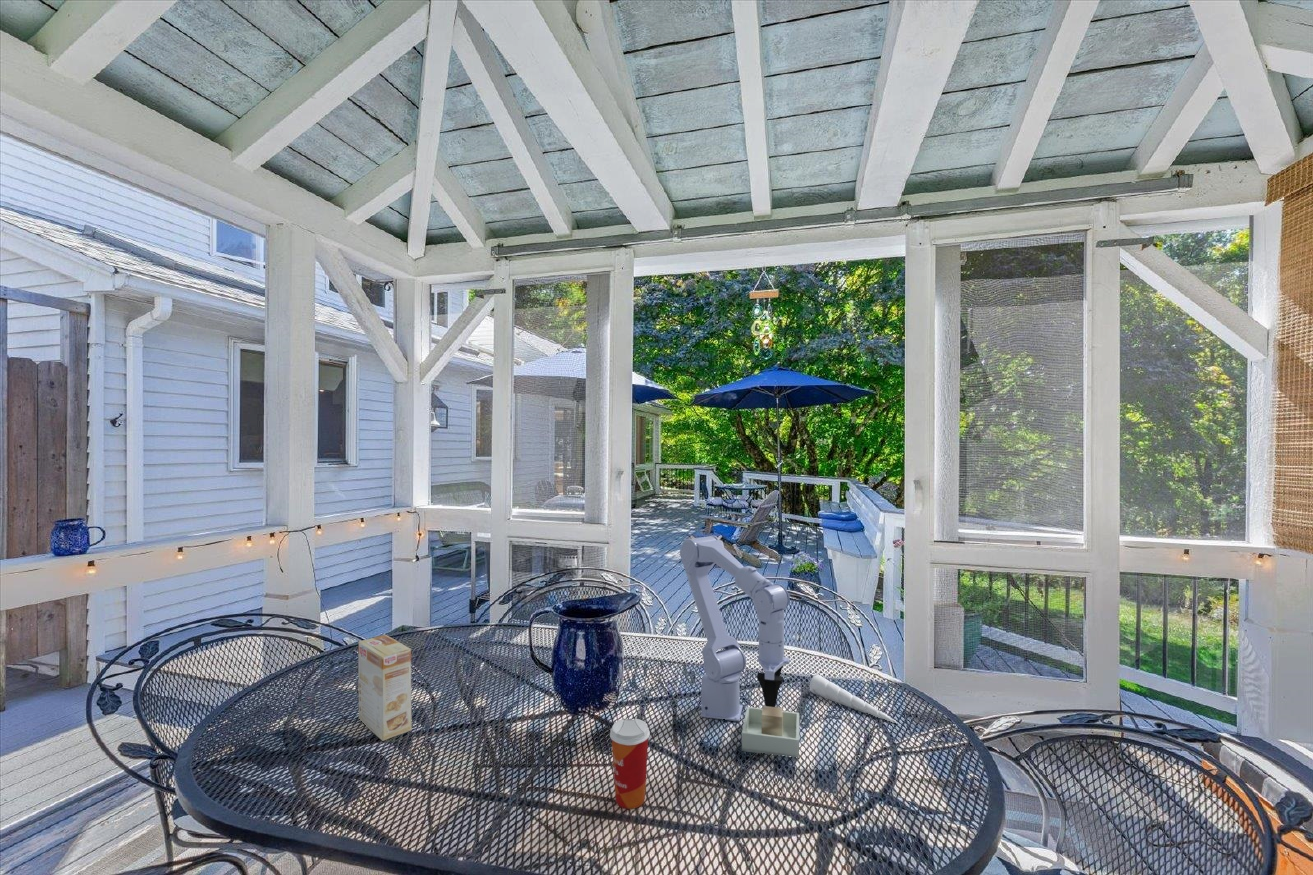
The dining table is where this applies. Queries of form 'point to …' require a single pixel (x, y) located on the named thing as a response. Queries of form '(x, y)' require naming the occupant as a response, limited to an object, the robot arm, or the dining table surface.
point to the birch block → (772, 721)
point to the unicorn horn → (844, 697)
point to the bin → (770, 743)
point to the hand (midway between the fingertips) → (771, 698)
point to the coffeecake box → (384, 686)
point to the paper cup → (630, 761)
